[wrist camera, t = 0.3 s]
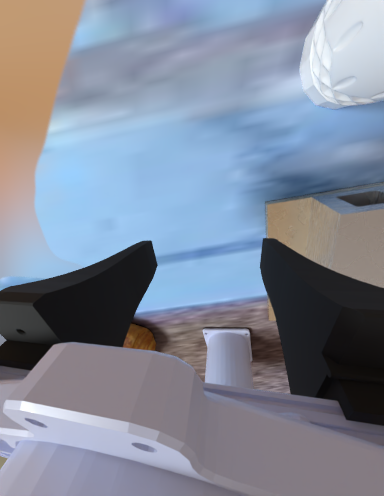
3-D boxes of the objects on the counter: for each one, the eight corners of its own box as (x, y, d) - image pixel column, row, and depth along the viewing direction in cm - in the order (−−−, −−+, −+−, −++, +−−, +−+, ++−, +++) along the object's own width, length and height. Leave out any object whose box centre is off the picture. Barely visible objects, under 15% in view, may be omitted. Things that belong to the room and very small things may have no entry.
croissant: (92, 298, 36) (55, 331, 29) (161, 323, 33) (137, 367, 26) (102, 339, 43) (74, 373, 36) (159, 363, 40) (140, 405, 33)
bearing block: (378, 313, 23) (421, 359, 18) (267, 315, 27) (277, 354, 22) (436, 173, 15) (545, 186, 10) (265, 201, 18) (280, 223, 13)
